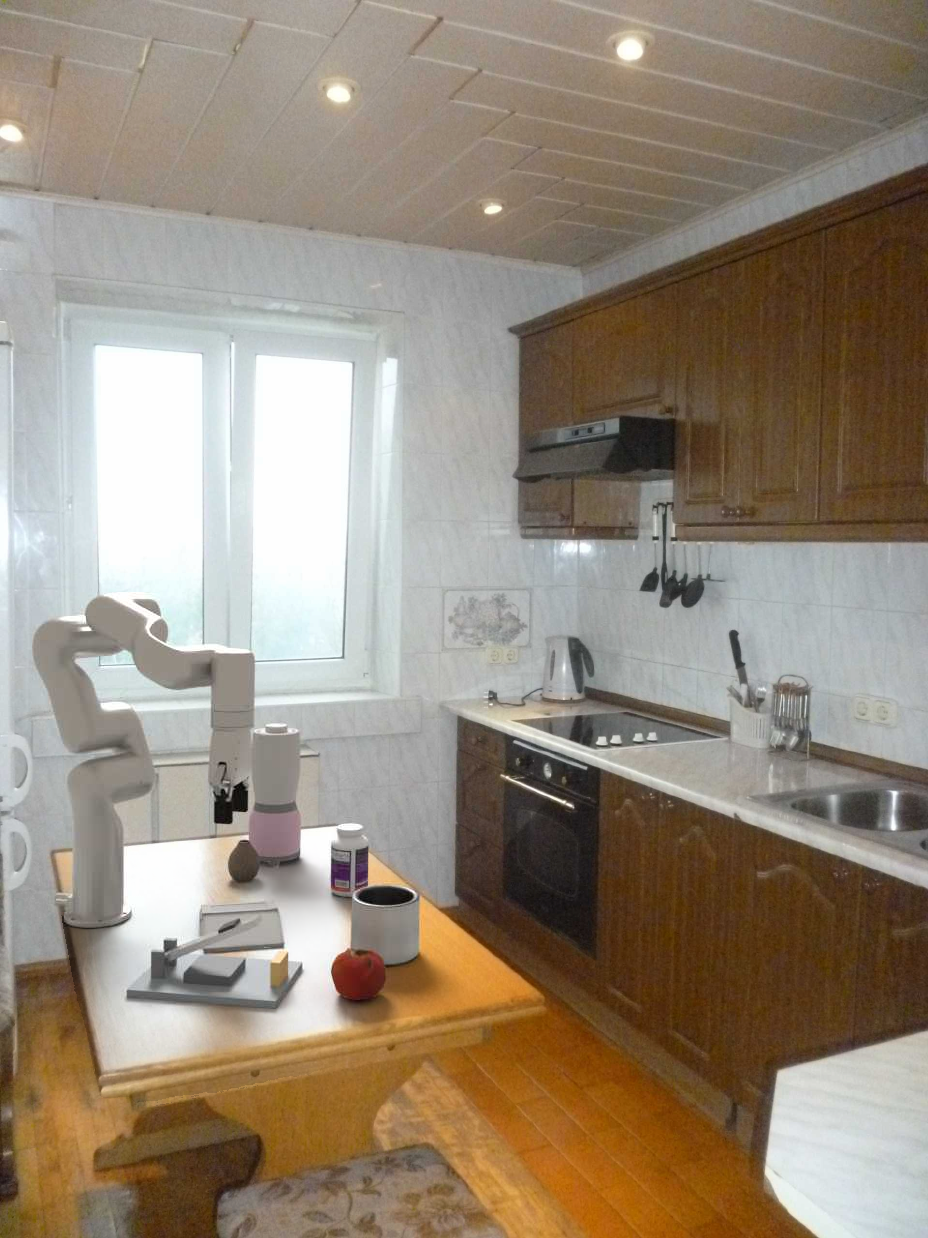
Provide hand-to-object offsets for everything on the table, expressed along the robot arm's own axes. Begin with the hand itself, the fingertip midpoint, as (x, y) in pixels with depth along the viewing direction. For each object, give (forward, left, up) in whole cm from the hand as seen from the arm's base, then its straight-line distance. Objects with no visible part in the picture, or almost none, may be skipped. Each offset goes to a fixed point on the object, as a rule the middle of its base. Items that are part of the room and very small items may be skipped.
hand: (231, 816), depth 184 cm
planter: (+27, +7, -26) cm, 38 cm away
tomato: (+26, -11, -26) cm, 38 cm away
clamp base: (+1, -10, -26) cm, 28 cm away
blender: (-9, +60, -26) cm, 66 cm away
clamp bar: (0, -10, -19) cm, 22 cm away
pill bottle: (+13, +39, -26) cm, 49 cm away
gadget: (-3, +15, -27) cm, 31 cm away
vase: (-12, +43, -26) cm, 51 cm away
